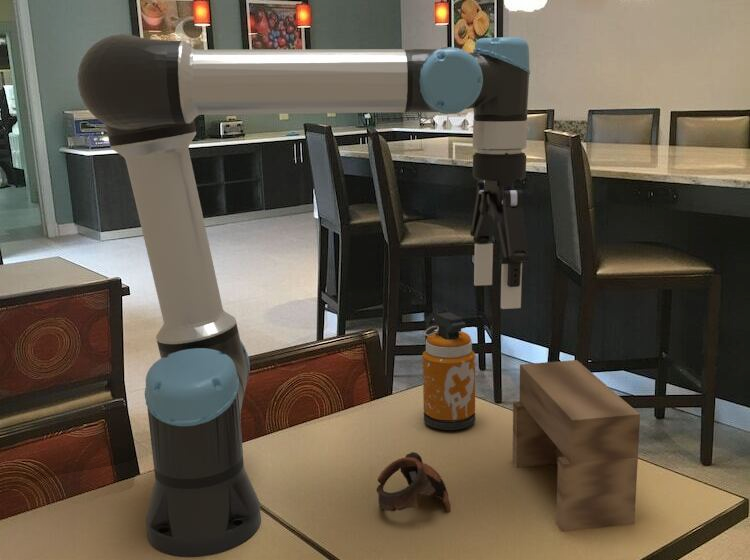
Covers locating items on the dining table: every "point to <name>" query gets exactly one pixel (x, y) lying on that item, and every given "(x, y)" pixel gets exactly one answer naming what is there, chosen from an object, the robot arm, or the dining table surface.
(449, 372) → the canister
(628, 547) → the dining table surface
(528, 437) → the hutch
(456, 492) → the dining table surface
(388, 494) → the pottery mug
